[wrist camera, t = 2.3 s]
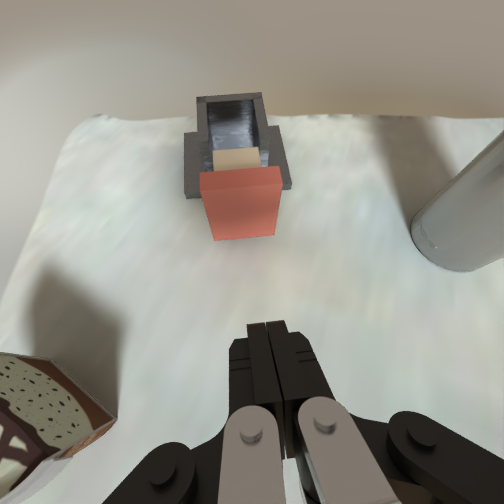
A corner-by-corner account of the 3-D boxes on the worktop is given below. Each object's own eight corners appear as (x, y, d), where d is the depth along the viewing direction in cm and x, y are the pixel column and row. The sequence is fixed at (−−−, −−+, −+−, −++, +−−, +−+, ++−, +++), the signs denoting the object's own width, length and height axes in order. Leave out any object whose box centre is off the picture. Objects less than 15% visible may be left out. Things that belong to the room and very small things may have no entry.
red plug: (264, 175, 34) (267, 112, 25) (274, 234, 30) (282, 183, 22) (210, 180, 33) (197, 117, 25) (214, 240, 29) (200, 191, 21)
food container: (-15, 409, 24) (-179, 432, 15) (41, 350, 26) (-72, 338, 17) (75, 505, 21) (-62, 609, 12) (129, 430, 23) (49, 468, 14)
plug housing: (277, 132, 39) (282, 90, 33) (290, 189, 34) (298, 152, 29) (186, 139, 38) (174, 98, 33) (186, 198, 34) (173, 163, 28)
